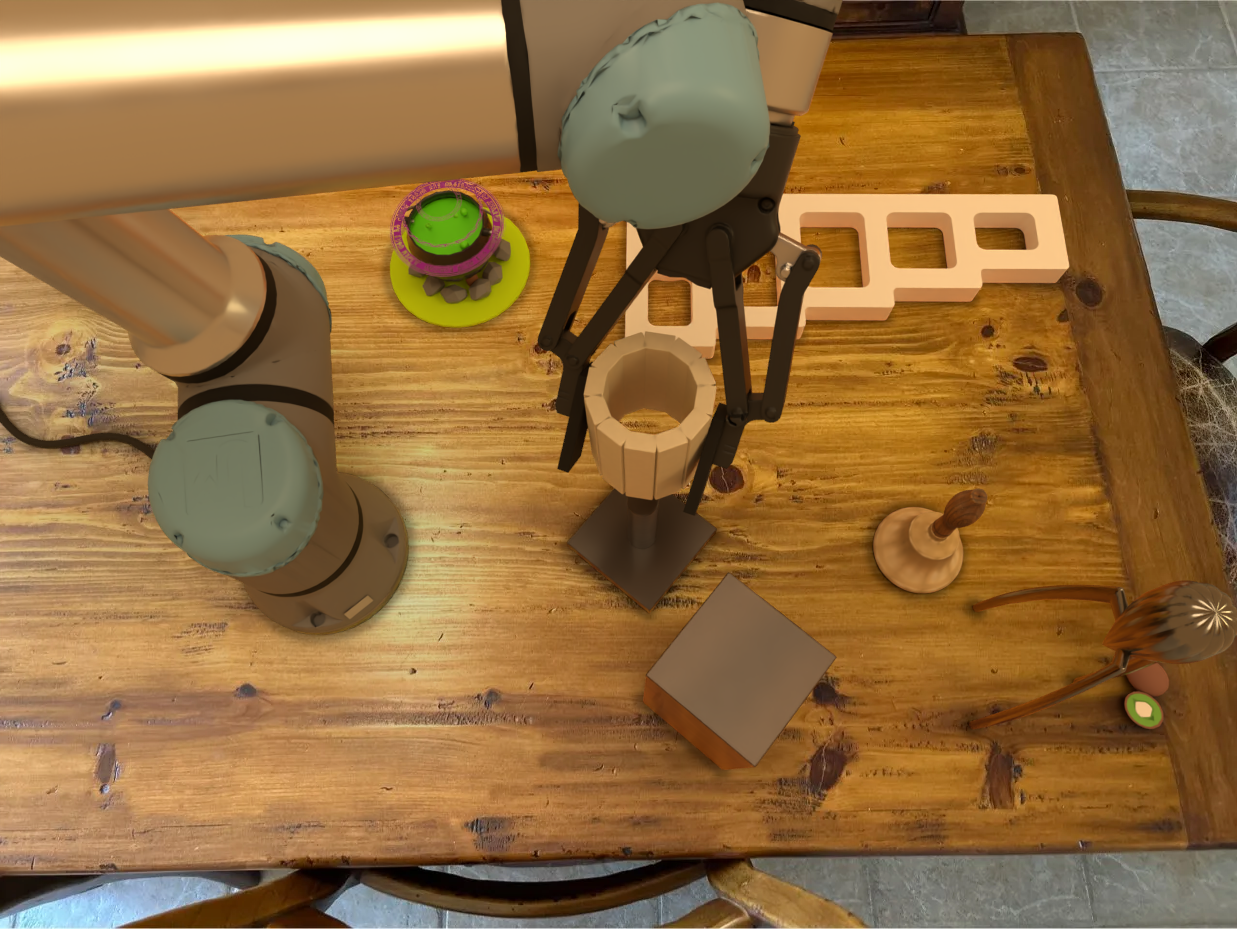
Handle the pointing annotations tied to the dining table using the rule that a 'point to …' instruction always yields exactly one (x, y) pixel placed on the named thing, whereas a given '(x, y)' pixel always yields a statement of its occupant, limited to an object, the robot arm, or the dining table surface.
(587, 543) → the tape peg
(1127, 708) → the kiwi fruit
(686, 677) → the stand block
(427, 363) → the dining table surface
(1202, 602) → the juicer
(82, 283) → the robot arm
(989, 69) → the dining table surface
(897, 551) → the hand bell
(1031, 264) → the holder
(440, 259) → the toy cauldron
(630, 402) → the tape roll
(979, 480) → the dining table surface
